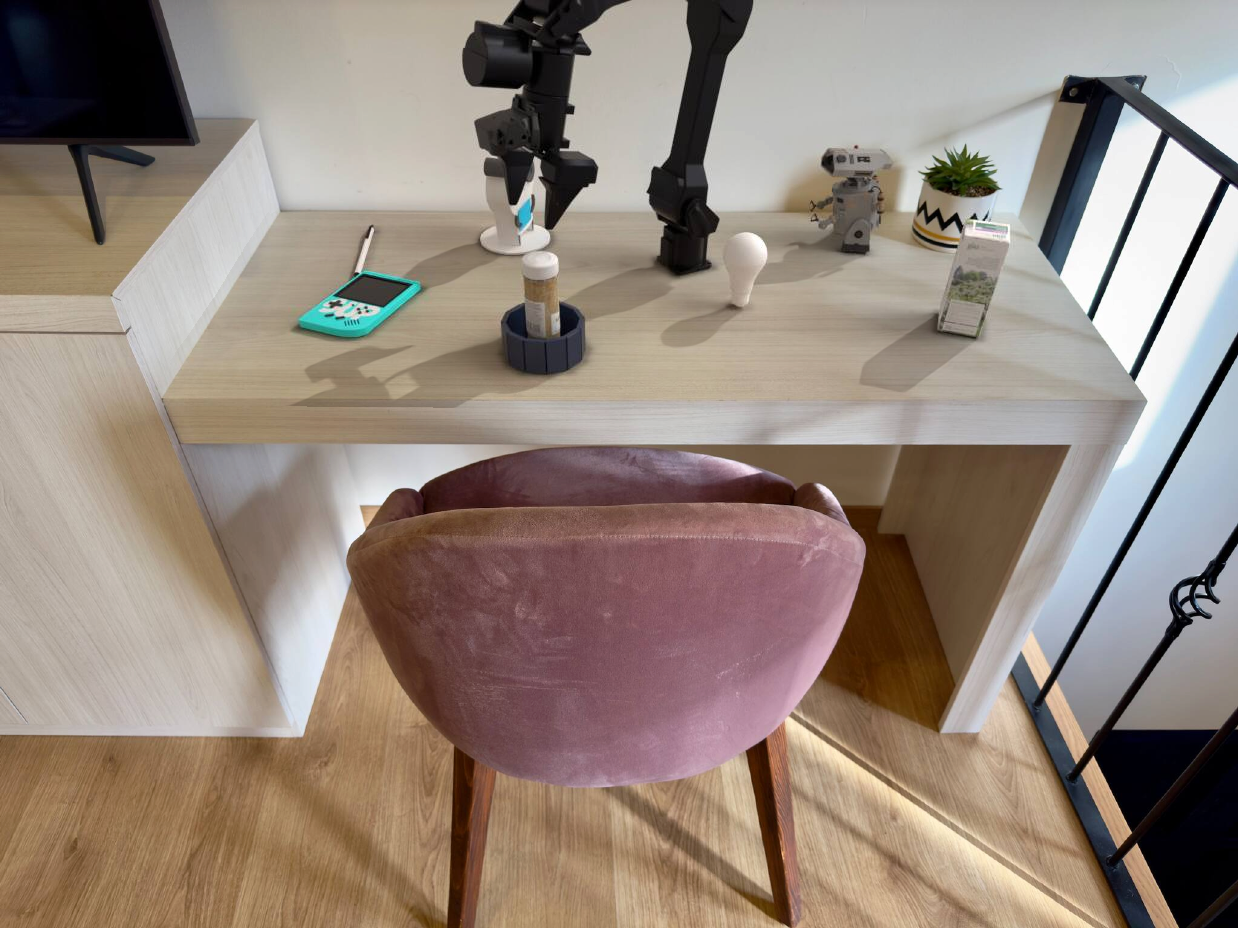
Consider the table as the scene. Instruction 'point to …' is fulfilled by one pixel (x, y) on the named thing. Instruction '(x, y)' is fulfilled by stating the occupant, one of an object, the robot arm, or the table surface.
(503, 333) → the pot
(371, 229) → the pen
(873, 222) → the figurine
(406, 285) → the handheld game console
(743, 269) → the lightbulb
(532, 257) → the sprinkles bottle
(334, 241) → the table surface
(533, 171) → the panda figurine
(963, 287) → the syrup box
